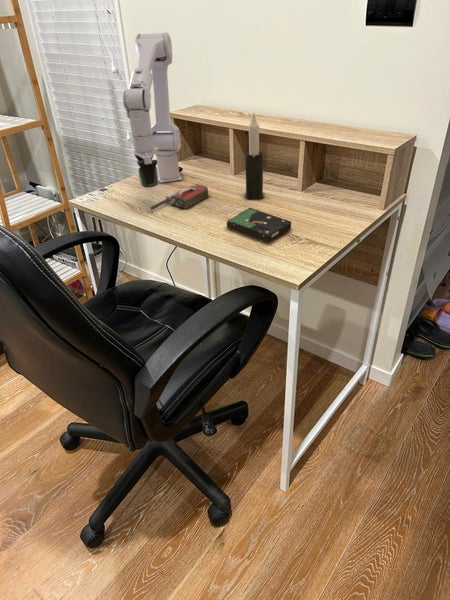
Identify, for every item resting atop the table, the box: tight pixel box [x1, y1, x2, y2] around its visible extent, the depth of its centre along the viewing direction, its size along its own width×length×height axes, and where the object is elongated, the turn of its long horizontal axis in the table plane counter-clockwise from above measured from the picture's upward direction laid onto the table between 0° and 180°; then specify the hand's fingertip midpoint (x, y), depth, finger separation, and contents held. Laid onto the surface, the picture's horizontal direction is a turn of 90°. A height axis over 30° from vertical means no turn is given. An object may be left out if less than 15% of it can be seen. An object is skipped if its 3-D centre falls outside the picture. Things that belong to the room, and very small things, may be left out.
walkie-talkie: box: [149, 183, 209, 211], centre depth 140 cm, size 9×4×20 cm
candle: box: [244, 112, 264, 200], centre depth 136 cm, size 5×5×25 cm
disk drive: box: [226, 207, 292, 244], centre depth 124 cm, size 10×3×15 cm
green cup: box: [137, 167, 160, 189], centre depth 136 cm, size 5×5×5 cm
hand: (149, 180), depth 137 cm, fingers closed on green cup, 5 cm apart
